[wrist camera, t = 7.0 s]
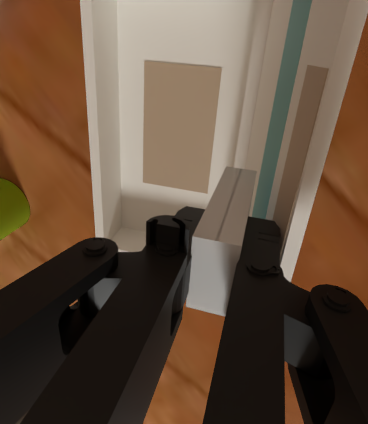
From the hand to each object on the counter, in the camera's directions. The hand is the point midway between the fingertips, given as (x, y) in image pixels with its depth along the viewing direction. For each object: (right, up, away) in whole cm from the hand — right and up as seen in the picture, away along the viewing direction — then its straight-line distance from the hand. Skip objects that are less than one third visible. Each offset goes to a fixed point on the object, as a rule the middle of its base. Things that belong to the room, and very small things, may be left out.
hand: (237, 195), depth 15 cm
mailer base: (-3, +6, +11) cm, 13 cm away
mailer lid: (+1, 0, +1) cm, 2 cm away
